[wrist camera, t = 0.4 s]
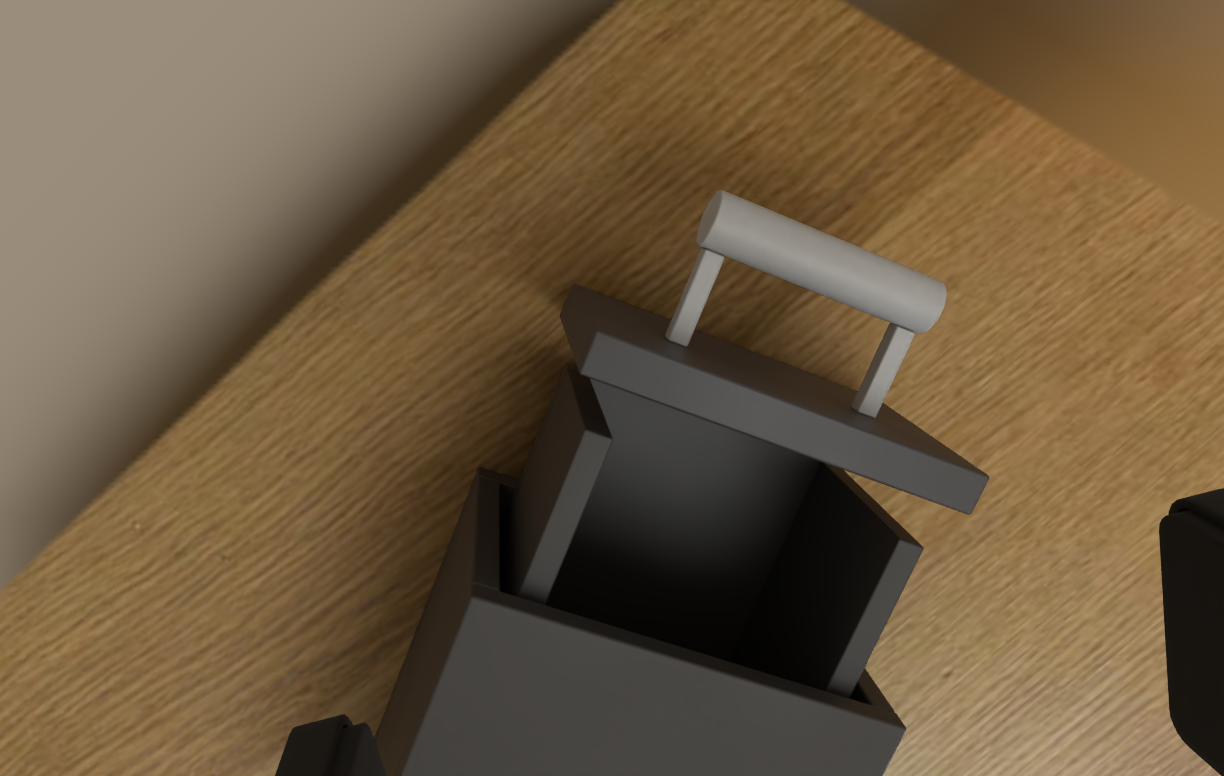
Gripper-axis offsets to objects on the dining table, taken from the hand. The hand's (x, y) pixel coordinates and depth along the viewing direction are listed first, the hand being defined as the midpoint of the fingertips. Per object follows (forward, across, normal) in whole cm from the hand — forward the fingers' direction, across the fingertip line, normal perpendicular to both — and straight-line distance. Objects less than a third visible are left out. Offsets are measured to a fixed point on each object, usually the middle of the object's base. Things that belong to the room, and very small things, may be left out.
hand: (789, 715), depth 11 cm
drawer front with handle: (+21, -2, +5) cm, 22 cm away
